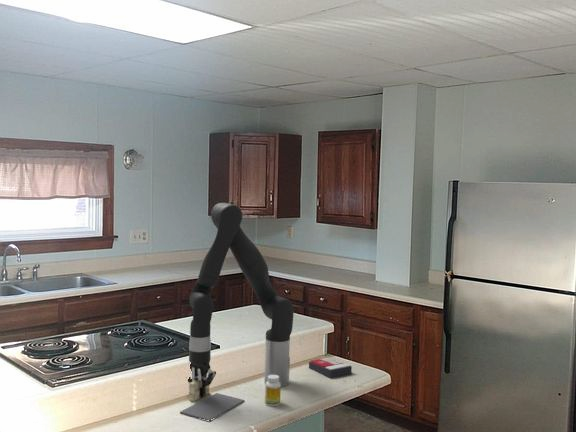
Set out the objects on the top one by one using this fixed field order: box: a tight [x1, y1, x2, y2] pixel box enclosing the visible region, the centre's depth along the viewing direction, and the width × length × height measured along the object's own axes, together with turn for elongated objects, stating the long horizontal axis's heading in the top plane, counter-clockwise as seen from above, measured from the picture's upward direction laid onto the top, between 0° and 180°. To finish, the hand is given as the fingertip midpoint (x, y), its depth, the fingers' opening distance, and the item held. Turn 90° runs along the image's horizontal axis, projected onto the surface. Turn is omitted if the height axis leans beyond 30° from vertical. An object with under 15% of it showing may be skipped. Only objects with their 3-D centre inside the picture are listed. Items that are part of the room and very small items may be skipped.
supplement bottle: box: [264, 375, 282, 407], centre depth 197 cm, size 5×5×10 cm
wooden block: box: [188, 376, 210, 402], centre depth 201 cm, size 9×2×6 cm, turn 151°
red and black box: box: [308, 356, 353, 380], centre depth 233 cm, size 11×4×15 cm
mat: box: [179, 392, 245, 422], centre depth 192 cm, size 20×12×1 cm, turn 151°
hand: (198, 395), depth 201 cm, fingers closed on wooden block, 2 cm apart
